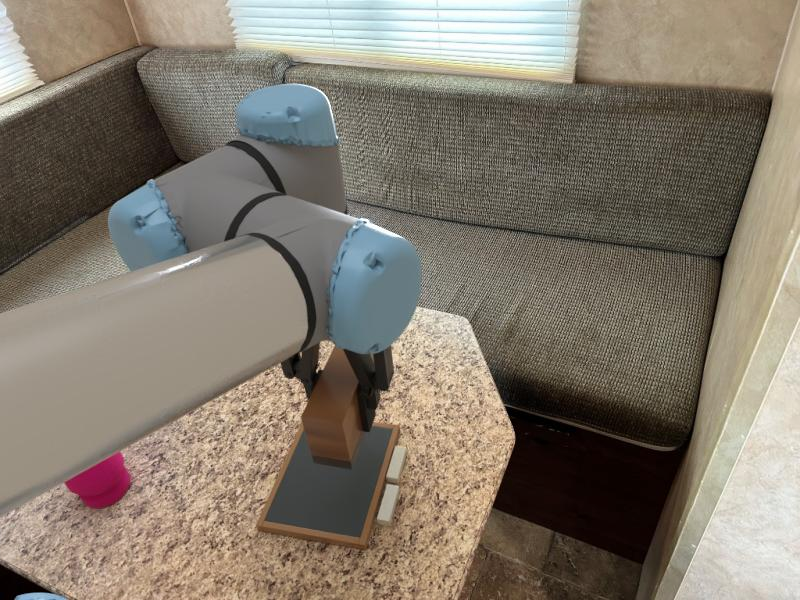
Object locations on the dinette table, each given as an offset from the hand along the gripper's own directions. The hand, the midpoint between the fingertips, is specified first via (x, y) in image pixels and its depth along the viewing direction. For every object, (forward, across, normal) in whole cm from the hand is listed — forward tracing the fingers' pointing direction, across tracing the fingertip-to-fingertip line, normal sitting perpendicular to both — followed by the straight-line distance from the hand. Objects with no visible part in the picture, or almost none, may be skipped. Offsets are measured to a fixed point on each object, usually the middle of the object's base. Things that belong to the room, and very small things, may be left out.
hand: (348, 419), depth 71 cm
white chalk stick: (+12, -3, -3) cm, 13 cm away
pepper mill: (+13, +34, +7) cm, 37 cm away
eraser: (+1, 0, 0) cm, 1 cm away
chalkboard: (+13, +4, 0) cm, 13 cm away
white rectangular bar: (+12, -4, +3) cm, 13 cm away
